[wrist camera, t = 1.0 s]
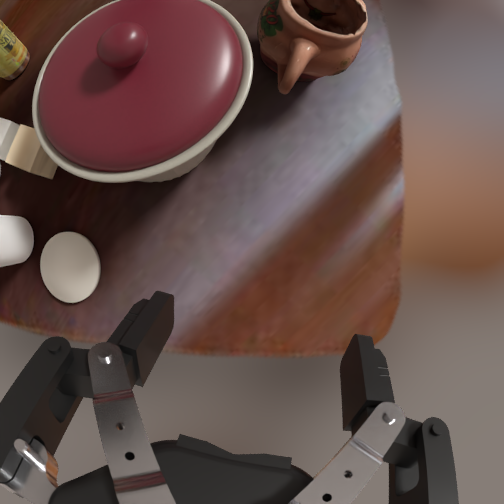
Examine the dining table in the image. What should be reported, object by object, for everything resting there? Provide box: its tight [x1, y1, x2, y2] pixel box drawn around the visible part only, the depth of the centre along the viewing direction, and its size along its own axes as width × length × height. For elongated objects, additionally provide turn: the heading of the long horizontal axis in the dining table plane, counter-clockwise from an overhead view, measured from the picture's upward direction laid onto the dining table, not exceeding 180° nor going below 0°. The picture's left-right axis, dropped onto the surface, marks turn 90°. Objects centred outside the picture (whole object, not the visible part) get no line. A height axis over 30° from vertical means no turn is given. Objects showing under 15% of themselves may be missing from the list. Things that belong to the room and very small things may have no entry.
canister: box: [32, 0, 253, 183], centre depth 24 cm, size 18×18×21 cm
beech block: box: [5, 124, 58, 179], centre depth 29 cm, size 5×5×6 cm
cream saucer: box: [40, 232, 101, 303], centre depth 33 cm, size 9×9×1 cm
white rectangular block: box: [0, 118, 20, 161], centre depth 28 cm, size 5×5×6 cm
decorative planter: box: [257, 0, 367, 94], centre depth 29 cm, size 20×12×14 cm, turn 165°
